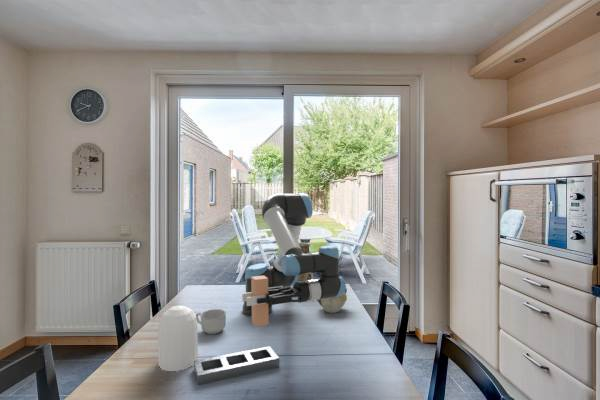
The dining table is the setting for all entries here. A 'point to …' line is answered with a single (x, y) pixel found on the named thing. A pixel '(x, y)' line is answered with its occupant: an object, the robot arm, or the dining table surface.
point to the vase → (305, 250)
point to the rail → (238, 369)
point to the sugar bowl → (333, 303)
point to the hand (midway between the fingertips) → (244, 299)
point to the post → (261, 310)
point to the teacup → (212, 320)
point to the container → (177, 339)
